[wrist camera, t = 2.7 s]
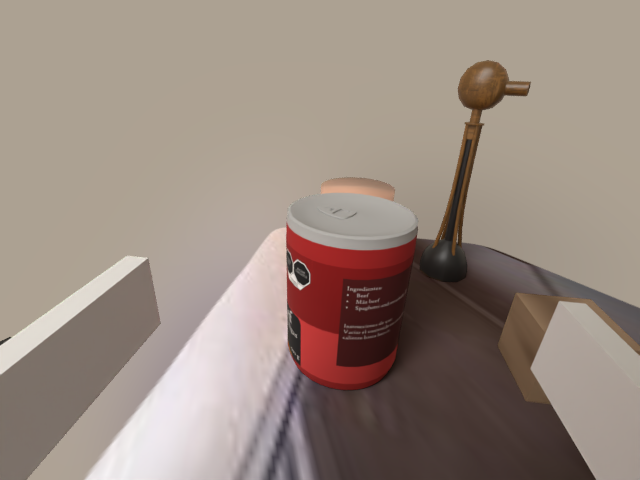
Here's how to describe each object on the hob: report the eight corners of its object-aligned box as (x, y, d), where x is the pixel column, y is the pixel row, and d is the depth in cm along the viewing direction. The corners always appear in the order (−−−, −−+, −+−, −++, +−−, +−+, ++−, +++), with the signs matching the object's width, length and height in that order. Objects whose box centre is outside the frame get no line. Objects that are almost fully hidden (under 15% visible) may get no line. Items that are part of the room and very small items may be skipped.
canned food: (310, 308, 29) (313, 186, 24) (402, 332, 27) (425, 202, 22) (267, 371, 23) (261, 222, 18) (384, 411, 20) (411, 250, 16)
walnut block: (565, 353, 25) (590, 299, 23) (609, 412, 21) (645, 351, 19) (497, 346, 26) (515, 292, 24) (525, 402, 21) (551, 342, 19)
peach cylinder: (393, 264, 37) (404, 185, 33) (367, 294, 31) (378, 204, 28) (337, 247, 40) (342, 173, 36) (305, 273, 35) (307, 189, 31)
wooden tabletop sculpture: (480, 271, 36) (538, 62, 27) (470, 290, 32) (533, 57, 24) (426, 255, 39) (464, 62, 30) (412, 271, 35) (450, 58, 27)
